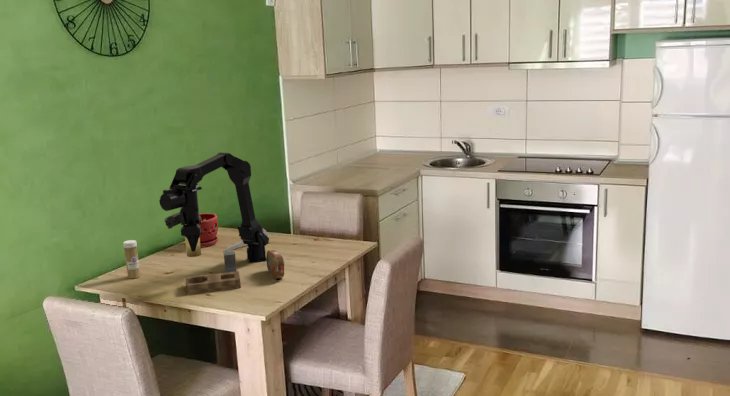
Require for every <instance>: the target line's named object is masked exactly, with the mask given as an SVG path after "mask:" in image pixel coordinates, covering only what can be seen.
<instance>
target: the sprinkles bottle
mask: <svg viewBox="0 0 730 396" xmlns="http://www.w3.org/2000/svg"><path fill="white" fill-rule="evenodd" d="M122 244H123V245H122V246H123V249H124V258H125V259H124V260H125V266H126V267H125V268H126V271H127V279H138V278H139V277H141V271H140V262H139V261H140V260H139V256H138V255H139V254H138V247H137V245H138V244H137V240H134V239H130V240H129V239H128V240H125V241H123V242H122Z"/></svg>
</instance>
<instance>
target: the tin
mask: <svg viewBox="0 0 730 396" xmlns="http://www.w3.org/2000/svg"><path fill="white" fill-rule="evenodd" d="M266 268H267V271H268V273H269V274H270V275H271V276H272V277H273V278H274V279H275V280H277V279H282V278H284V276H285V261H284V258H283V255H282V254H280V253H279V252H278V251H277V250H276V249H274V250H267V252H266Z"/></svg>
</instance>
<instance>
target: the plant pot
mask: <svg viewBox="0 0 730 396" xmlns="http://www.w3.org/2000/svg"><path fill="white" fill-rule="evenodd" d="M199 216H201V224H200V223H197V224H198V225H201V234H200V247H201V248H206V247H212V246H213V245H215V244H216V243H217V242H218V241H219V237H218V236H217V235H218V230H219V220H218V216H217V214H216V213H210V212H208V213H199Z"/></svg>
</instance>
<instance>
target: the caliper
mask: <svg viewBox="0 0 730 396" xmlns="http://www.w3.org/2000/svg"><path fill="white" fill-rule="evenodd" d="M262 230H263V233H264V234H265V235H266V236H267V237H268V232H267V230H266V229H265V228H263V227H262ZM268 238H269V237H268ZM243 245H245V244H244V243H243V240H241V241H239V242H237V243H235V244H233V245H230V246H228V247H226V248H225V249H224V250H223V253H224V252H231V251H234V250H235V249H238V248H239V247H242V246H243Z"/></svg>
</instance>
